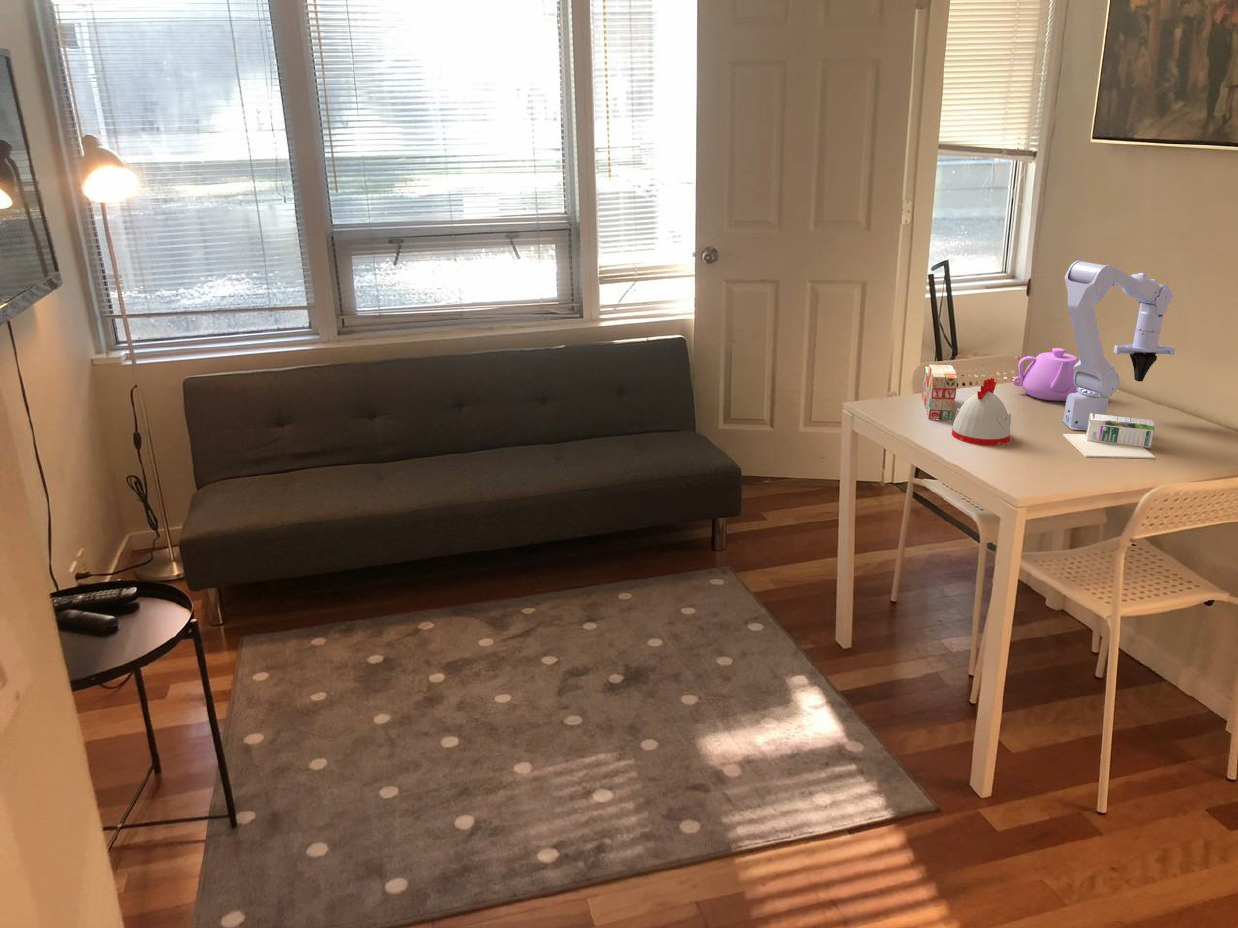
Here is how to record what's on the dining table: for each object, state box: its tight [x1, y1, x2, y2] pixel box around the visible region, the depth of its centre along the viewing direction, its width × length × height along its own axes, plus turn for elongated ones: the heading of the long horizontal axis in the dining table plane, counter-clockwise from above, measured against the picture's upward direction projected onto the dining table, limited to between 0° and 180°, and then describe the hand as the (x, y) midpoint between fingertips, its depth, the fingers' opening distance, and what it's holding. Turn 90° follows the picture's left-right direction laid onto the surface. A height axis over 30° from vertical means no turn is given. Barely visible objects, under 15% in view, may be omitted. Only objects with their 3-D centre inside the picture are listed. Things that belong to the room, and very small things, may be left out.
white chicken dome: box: [951, 377, 1012, 446], centre depth 245 cm, size 14×14×15 cm
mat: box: [1062, 433, 1156, 460], centre depth 240 cm, size 16×16×1 cm
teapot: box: [1012, 347, 1080, 402], centre depth 276 cm, size 22×22×14 cm
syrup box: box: [1085, 414, 1156, 449], centre depth 241 cm, size 6×6×14 cm
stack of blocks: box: [921, 364, 959, 421], centre depth 268 cm, size 21×6×12 cm, turn 169°
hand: (1138, 380), depth 257 cm, fingers closed
